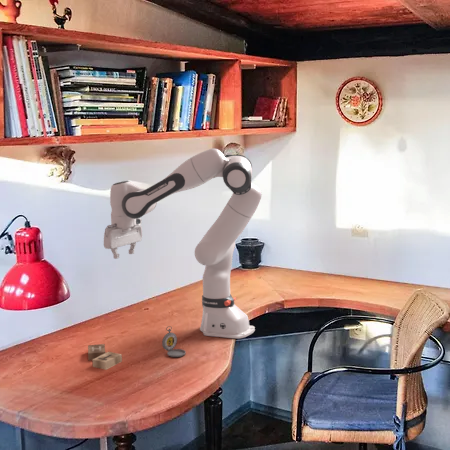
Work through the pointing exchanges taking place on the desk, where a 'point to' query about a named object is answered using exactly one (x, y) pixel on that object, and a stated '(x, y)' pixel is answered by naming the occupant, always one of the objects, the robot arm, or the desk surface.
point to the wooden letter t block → (107, 360)
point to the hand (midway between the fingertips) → (124, 256)
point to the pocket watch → (171, 345)
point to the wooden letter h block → (95, 351)
